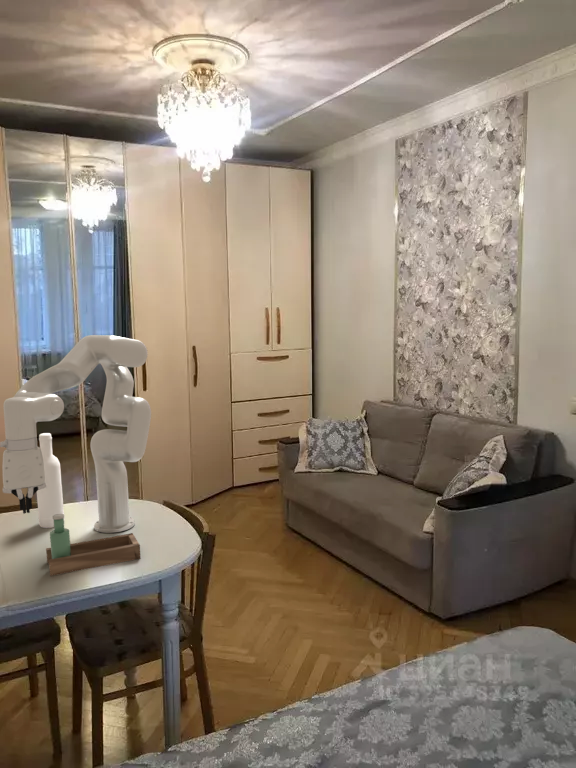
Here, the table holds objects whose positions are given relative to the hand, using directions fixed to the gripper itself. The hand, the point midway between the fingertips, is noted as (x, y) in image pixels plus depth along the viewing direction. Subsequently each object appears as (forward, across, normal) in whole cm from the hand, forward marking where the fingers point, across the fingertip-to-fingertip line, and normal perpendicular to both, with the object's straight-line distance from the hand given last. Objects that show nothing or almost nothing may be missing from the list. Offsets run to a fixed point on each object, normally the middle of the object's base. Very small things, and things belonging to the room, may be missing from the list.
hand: (26, 511), depth 168 cm
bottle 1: (+17, +9, +37) cm, 41 cm away
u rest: (+17, +16, +1) cm, 23 cm away
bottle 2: (+17, +8, +1) cm, 19 cm away
